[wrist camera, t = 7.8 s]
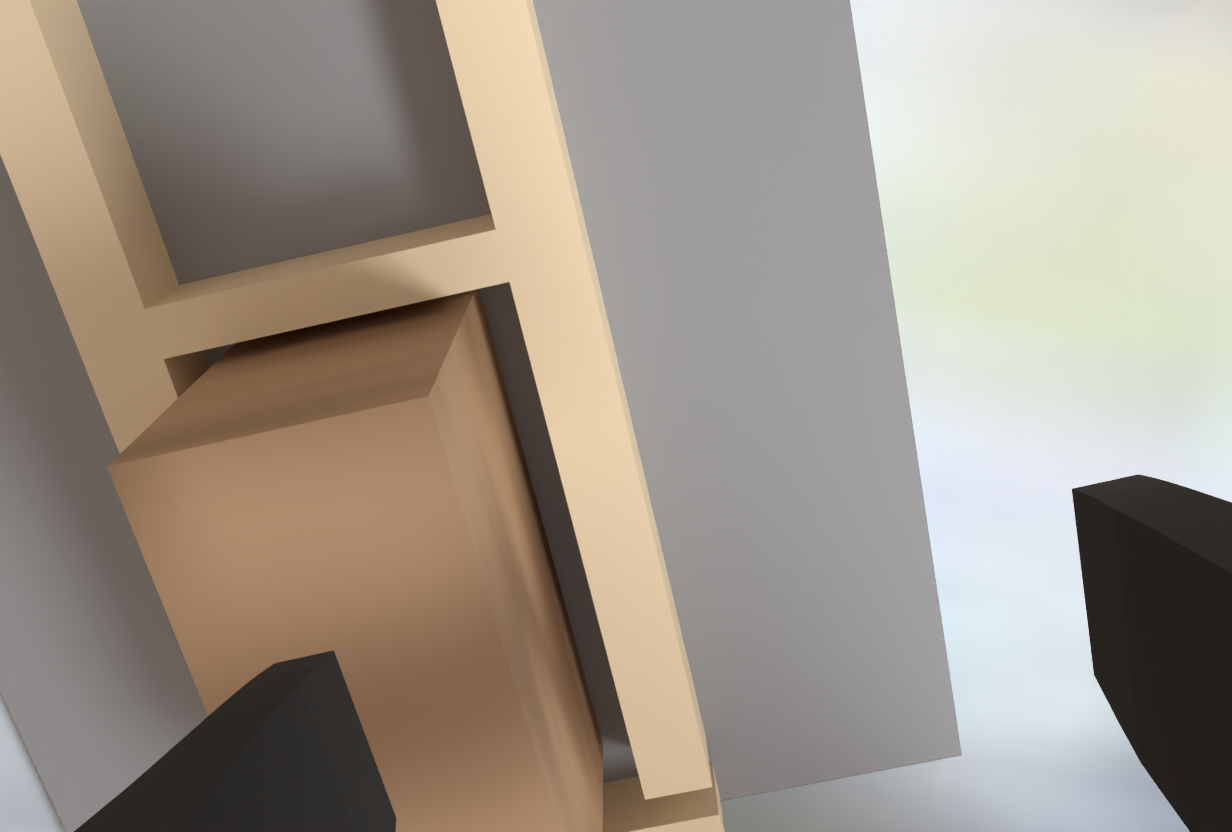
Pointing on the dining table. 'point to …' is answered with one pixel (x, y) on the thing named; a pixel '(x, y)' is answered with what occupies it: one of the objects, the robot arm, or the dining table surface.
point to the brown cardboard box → (378, 558)
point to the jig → (524, 342)
